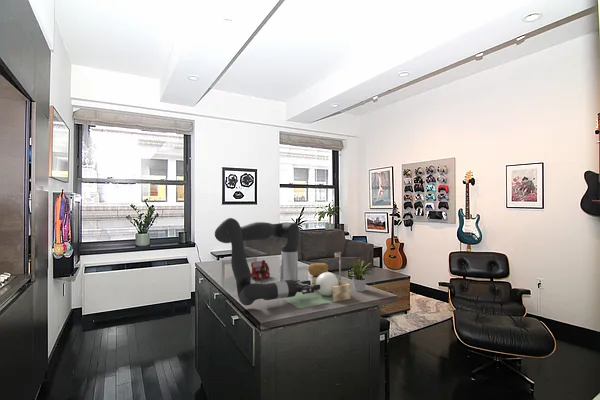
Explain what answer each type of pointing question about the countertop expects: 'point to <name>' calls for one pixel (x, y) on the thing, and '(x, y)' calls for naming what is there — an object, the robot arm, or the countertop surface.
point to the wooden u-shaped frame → (343, 288)
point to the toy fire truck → (260, 270)
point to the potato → (317, 268)
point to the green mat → (309, 299)
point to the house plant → (359, 276)
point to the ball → (327, 283)
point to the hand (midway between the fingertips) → (314, 284)
